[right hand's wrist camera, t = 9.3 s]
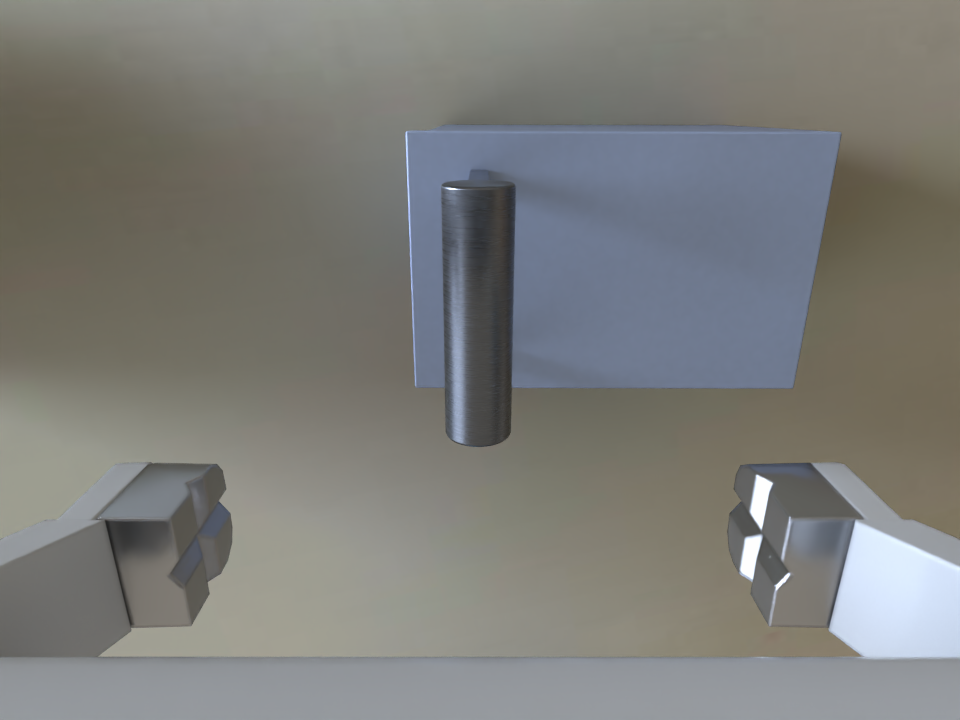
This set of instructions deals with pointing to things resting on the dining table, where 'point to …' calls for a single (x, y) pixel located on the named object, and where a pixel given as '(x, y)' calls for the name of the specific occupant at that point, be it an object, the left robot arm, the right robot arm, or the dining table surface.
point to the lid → (609, 261)
